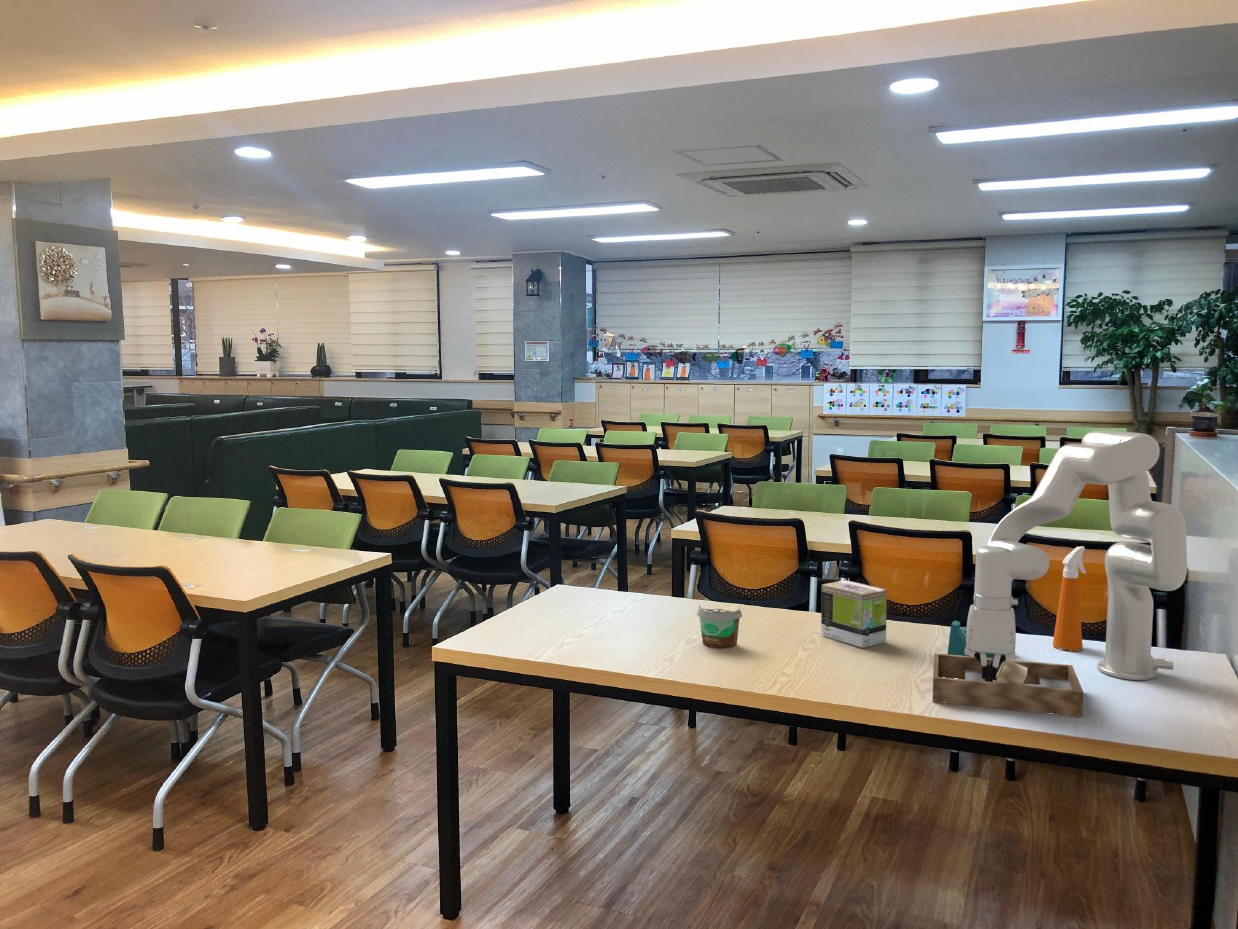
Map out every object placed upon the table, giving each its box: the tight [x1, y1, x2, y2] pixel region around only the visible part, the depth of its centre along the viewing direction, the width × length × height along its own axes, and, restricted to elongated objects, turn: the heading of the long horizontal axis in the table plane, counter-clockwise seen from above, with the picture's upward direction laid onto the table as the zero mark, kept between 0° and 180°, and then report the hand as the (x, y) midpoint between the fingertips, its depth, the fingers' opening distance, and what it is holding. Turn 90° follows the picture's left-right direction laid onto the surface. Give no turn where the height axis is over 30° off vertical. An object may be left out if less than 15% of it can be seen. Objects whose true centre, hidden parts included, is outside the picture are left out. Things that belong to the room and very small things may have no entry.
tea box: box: [820, 579, 888, 649], centre depth 249 cm, size 15×10×15 cm, turn 34°
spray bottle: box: [1052, 545, 1087, 652], centre depth 239 cm, size 7×11×26 cm, turn 125°
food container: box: [696, 605, 743, 650], centre depth 245 cm, size 12×6×10 cm, turn 68°
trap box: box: [932, 652, 1084, 718], centre depth 207 cm, size 30×18×6 cm, turn 71°
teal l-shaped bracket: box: [946, 620, 994, 658], centre depth 231 cm, size 18×11×10 cm, turn 149°
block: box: [995, 660, 1027, 685], centre depth 203 cm, size 5×5×5 cm
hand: (988, 682), depth 205 cm, fingers closed
